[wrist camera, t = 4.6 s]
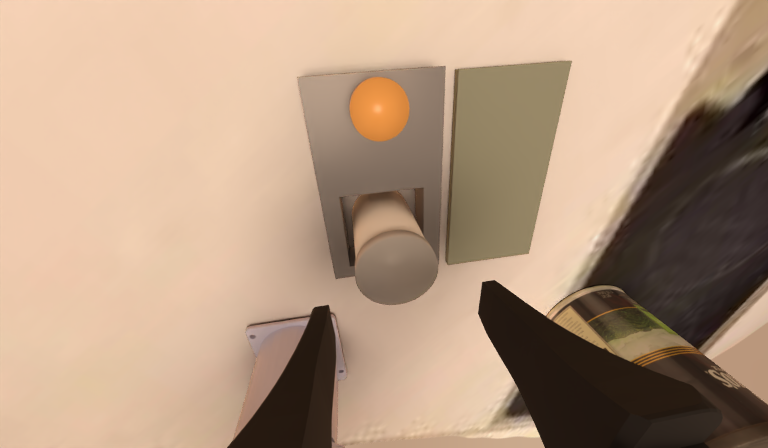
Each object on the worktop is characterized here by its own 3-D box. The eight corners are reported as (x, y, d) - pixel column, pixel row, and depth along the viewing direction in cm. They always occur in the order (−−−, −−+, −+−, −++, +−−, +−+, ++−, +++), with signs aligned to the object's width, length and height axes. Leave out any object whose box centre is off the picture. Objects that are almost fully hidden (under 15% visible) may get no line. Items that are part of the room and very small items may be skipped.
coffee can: (605, 267, 28) (809, 416, 16) (638, 312, 33) (818, 456, 20) (522, 326, 31) (642, 493, 19) (562, 360, 35) (681, 514, 23)
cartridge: (409, 234, 23) (437, 298, 17) (354, 242, 23) (360, 310, 16) (408, 182, 21) (439, 232, 14) (346, 189, 21) (350, 243, 14)
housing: (429, 246, 24) (438, 264, 22) (335, 259, 23) (335, 278, 21) (432, 66, 17) (445, 66, 15) (302, 76, 17) (296, 77, 15)
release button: (397, 127, 18) (410, 138, 15) (351, 131, 18) (353, 144, 15) (395, 74, 17) (408, 74, 13) (345, 78, 16) (346, 79, 13)
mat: (524, 249, 26) (528, 253, 25) (445, 260, 25) (447, 265, 24) (565, 61, 18) (571, 60, 18) (455, 69, 18) (458, 69, 17)
